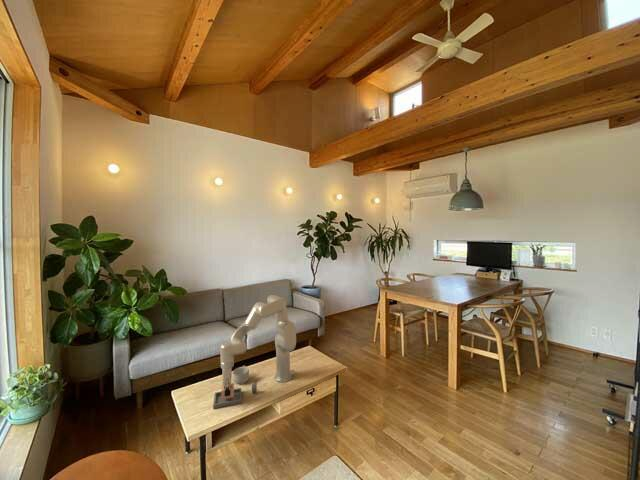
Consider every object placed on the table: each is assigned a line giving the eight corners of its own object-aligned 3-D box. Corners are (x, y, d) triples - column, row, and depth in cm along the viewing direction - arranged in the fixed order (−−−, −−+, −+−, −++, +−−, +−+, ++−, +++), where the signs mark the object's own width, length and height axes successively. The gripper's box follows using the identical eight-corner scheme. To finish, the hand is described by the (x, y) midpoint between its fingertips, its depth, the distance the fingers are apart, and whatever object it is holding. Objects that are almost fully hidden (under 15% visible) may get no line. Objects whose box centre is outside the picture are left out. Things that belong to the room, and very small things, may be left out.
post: (256, 391, 174) (256, 381, 173) (256, 393, 171) (256, 383, 170) (251, 392, 173) (251, 382, 172) (252, 394, 170) (251, 384, 170)
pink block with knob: (222, 393, 167) (221, 385, 167) (233, 391, 169) (233, 383, 169) (221, 399, 160) (221, 390, 160) (233, 397, 162) (233, 388, 162)
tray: (241, 391, 173) (241, 387, 173) (241, 403, 161) (241, 399, 161) (214, 396, 169) (214, 392, 169) (213, 409, 156) (213, 405, 156)
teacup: (244, 386, 179) (244, 375, 178) (229, 385, 181) (229, 373, 181) (253, 375, 192) (253, 364, 192) (240, 374, 195) (239, 363, 194)
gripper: (221, 358, 171) (221, 385, 172) (219, 371, 155) (220, 401, 155) (233, 356, 174) (234, 383, 174) (233, 369, 157) (234, 399, 158)
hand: (227, 391), depth 165 cm, fingers closed on pink block with knob, 7 cm apart
